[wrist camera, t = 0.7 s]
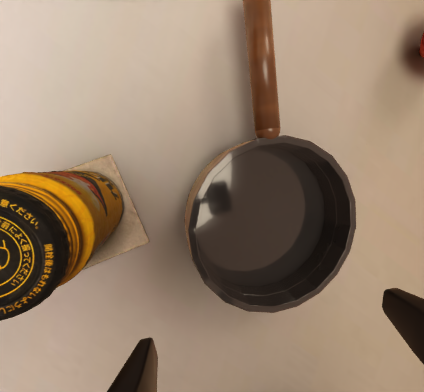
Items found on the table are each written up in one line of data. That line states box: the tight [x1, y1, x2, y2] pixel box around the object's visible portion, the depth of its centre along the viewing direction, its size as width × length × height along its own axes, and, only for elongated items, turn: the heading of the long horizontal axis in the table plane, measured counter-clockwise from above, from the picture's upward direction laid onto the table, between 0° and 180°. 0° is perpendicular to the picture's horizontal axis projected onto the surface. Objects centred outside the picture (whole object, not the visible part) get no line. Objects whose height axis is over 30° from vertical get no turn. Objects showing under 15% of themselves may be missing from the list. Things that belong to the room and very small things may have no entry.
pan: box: [184, 135, 356, 313], centre depth 21 cm, size 15×15×4 cm
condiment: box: [0, 154, 149, 321], centre depth 14 cm, size 7×8×12 cm
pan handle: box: [243, 0, 280, 139], centre depth 18 cm, size 12×2×2 cm, turn 7°
